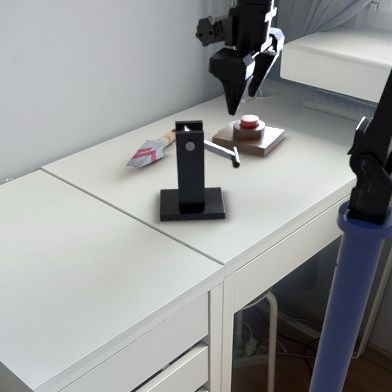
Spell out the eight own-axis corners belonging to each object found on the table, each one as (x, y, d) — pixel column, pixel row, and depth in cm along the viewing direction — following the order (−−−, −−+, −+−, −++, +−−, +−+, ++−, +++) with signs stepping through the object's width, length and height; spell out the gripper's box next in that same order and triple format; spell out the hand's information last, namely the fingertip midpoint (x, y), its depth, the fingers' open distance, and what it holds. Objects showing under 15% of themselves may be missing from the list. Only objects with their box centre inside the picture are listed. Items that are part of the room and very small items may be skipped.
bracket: (221, 193, 92) (222, 114, 82) (225, 219, 85) (226, 137, 75) (160, 195, 91) (154, 116, 82) (160, 221, 85) (153, 140, 75)
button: (260, 125, 105) (261, 116, 104) (253, 131, 103) (253, 122, 102) (244, 122, 106) (245, 113, 105) (237, 128, 104) (237, 119, 103)
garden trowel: (121, 157, 96) (170, 123, 109) (123, 171, 97) (170, 136, 111) (139, 160, 94) (186, 126, 108) (140, 174, 96) (186, 139, 110)
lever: (233, 157, 85) (239, 144, 84) (236, 172, 81) (243, 159, 80) (178, 134, 82) (184, 120, 81) (178, 149, 78) (184, 134, 77)
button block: (283, 138, 108) (285, 121, 105) (264, 156, 102) (265, 139, 99) (233, 128, 112) (234, 111, 110) (212, 145, 106) (212, 128, 104)
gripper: (229, -22, 84) (220, 78, 96) (179, 3, 72) (176, 113, 84) (293, -10, 81) (276, 91, 93) (251, 18, 70) (238, 130, 81)
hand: (241, 105), depth 88 cm, fingers open, 9 cm apart
